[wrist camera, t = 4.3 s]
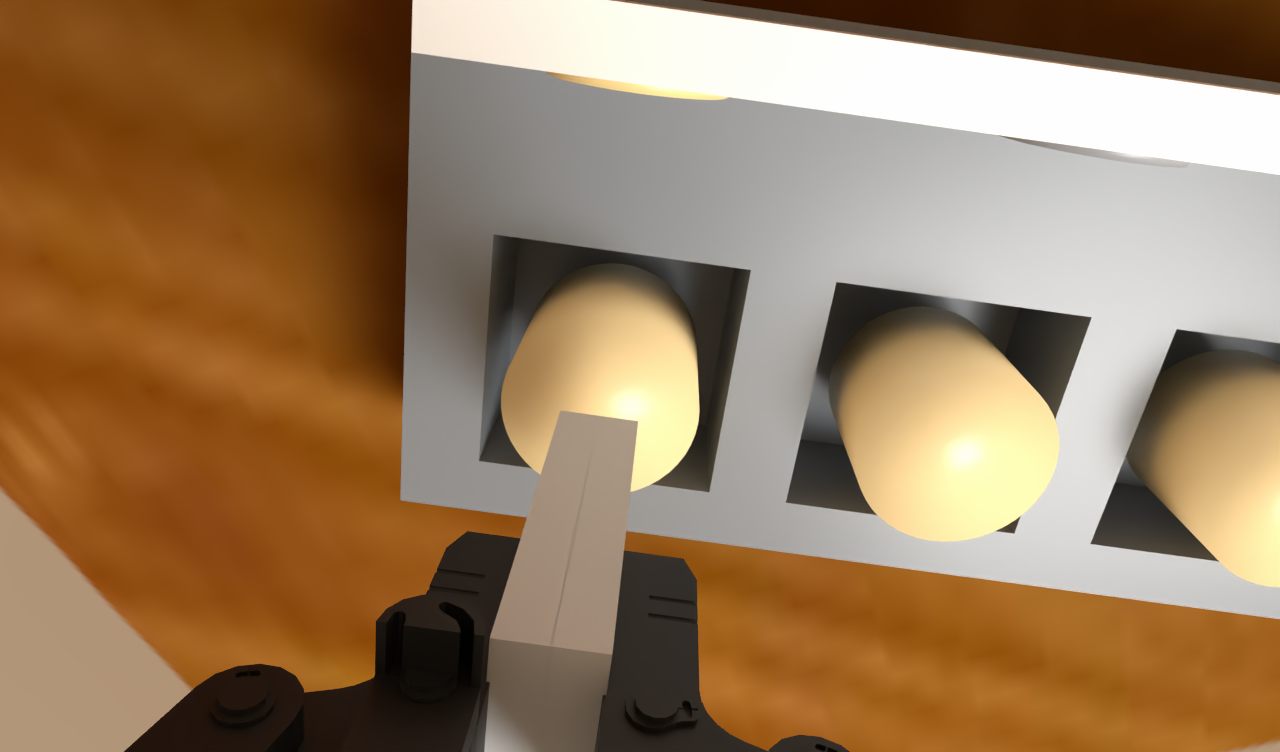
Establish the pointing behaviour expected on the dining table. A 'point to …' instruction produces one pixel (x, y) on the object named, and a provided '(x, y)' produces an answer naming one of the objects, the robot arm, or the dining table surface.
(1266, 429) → the button right
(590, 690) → the robot arm
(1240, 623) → the dining table surface
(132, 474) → the dining table surface
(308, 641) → the dining table surface
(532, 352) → the button left
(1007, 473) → the button middle
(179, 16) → the dining table surface
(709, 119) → the console
